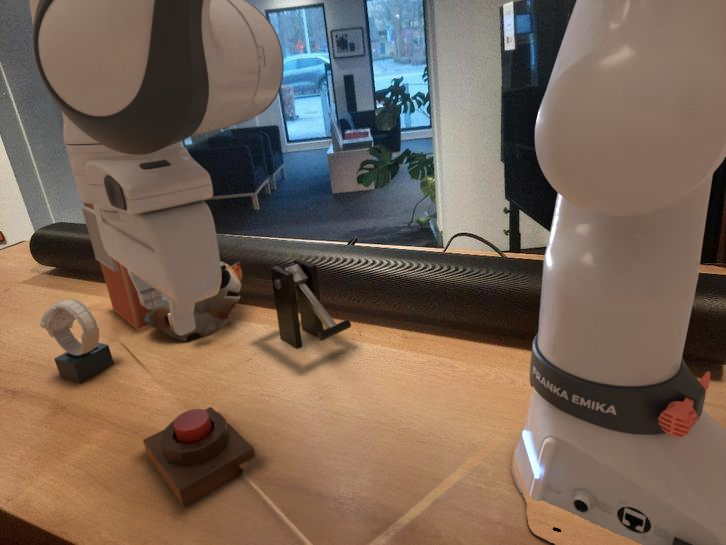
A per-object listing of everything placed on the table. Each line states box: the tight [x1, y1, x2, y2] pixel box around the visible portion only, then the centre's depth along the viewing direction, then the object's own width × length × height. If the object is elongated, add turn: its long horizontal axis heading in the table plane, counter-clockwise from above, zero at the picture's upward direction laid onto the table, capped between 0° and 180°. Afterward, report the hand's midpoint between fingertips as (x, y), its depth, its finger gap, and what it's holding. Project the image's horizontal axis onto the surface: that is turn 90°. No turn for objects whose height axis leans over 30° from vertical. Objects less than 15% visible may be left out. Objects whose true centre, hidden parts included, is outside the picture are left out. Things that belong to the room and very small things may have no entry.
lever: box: [284, 264, 352, 342], centre depth 69 cm, size 12×5×2 cm
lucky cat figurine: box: [143, 260, 243, 342], centre depth 81 cm, size 15×12×14 cm
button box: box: [142, 406, 256, 508], centre depth 53 cm, size 10×8×4 cm
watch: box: [39, 298, 115, 384], centre depth 70 cm, size 6×8×11 cm
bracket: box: [270, 258, 324, 350], centre depth 73 cm, size 12×9×13 cm
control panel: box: [81, 201, 162, 330], centre depth 85 cm, size 21×7×15 cm
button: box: [173, 408, 212, 444], centre depth 52 cm, size 4×4×2 cm
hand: (167, 317), depth 47 cm, fingers open, 6 cm apart
